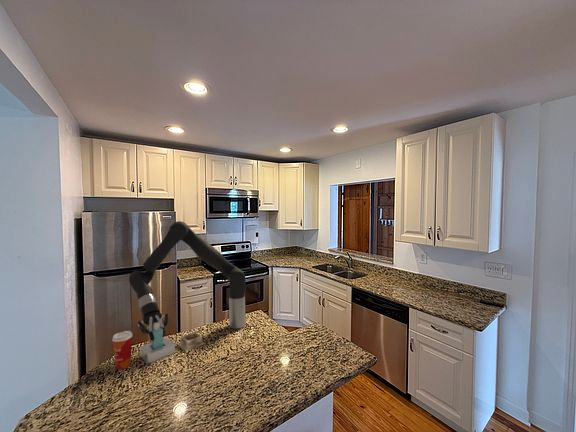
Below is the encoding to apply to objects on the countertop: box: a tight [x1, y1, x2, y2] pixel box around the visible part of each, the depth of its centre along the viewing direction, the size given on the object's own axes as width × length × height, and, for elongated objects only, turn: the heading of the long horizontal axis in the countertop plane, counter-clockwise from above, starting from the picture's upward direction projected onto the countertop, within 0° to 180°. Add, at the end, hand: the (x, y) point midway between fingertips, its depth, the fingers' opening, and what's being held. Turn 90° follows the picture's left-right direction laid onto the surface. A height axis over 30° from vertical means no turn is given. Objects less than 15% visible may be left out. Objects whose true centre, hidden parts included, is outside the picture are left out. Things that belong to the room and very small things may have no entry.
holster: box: [177, 331, 206, 352], centre depth 129 cm, size 10×10×4 cm
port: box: [139, 337, 176, 367], centre depth 121 cm, size 12×10×5 cm
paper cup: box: [111, 330, 134, 370], centre depth 113 cm, size 8×8×14 cm
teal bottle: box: [150, 322, 164, 350], centre depth 120 cm, size 4×4×13 cm
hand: (158, 338), depth 119 cm, fingers closed on teal bottle, 4 cm apart
